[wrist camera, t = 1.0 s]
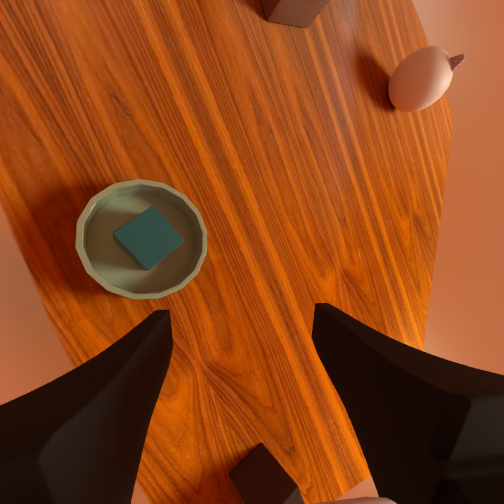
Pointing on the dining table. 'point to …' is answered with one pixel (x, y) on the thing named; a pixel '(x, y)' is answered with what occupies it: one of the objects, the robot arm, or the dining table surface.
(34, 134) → the dining table surface
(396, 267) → the dining table surface
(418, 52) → the ornament
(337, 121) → the dining table surface
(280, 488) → the dark brown block
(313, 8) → the wooden block
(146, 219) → the teal block
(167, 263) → the dish
